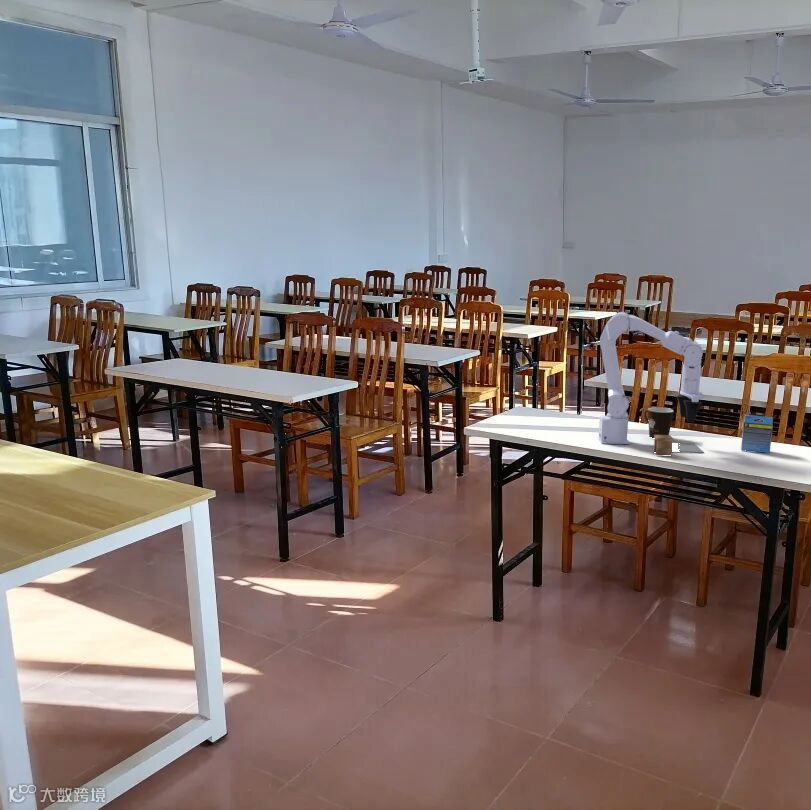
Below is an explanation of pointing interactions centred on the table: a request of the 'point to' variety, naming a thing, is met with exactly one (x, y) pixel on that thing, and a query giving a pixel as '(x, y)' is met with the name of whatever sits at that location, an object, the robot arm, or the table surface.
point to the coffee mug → (659, 421)
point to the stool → (663, 444)
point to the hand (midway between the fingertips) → (687, 419)
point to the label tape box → (757, 434)
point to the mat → (689, 448)
